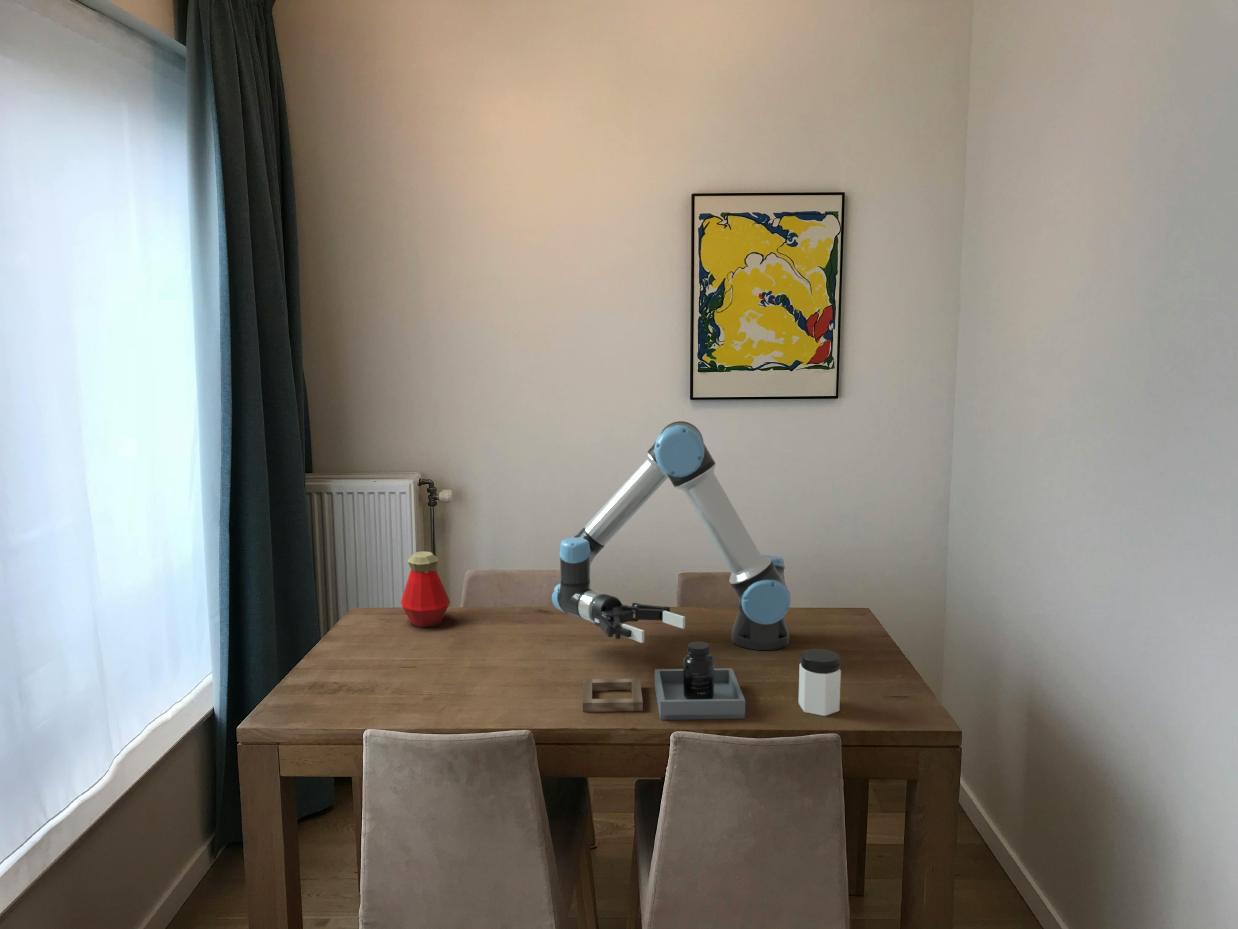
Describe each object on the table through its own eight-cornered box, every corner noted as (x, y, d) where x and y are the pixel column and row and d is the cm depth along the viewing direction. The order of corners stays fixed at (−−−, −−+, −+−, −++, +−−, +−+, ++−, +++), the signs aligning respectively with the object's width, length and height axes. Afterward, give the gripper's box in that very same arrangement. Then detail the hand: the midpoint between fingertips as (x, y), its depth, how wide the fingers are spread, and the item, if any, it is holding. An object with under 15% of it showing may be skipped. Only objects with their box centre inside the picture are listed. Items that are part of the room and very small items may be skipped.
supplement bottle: (680, 691, 195) (681, 640, 193) (710, 690, 196) (711, 639, 194) (685, 704, 188) (686, 651, 186) (716, 702, 189) (717, 650, 187)
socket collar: (639, 686, 200) (639, 678, 200) (642, 711, 187) (642, 702, 187) (583, 687, 200) (583, 679, 199) (582, 711, 187) (582, 703, 187)
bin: (731, 684, 201) (732, 668, 200) (745, 718, 183) (745, 700, 183) (654, 685, 201) (654, 669, 200) (660, 719, 183) (660, 702, 182)
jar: (818, 719, 183) (819, 665, 181) (790, 706, 189) (792, 653, 188) (847, 709, 188) (849, 656, 186) (819, 696, 194) (821, 645, 193)
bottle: (459, 625, 243) (457, 556, 240) (413, 634, 235) (410, 563, 232) (437, 611, 256) (435, 545, 253) (393, 619, 248) (390, 551, 245)
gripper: (637, 612, 222) (699, 632, 206) (562, 635, 205) (624, 659, 189) (637, 584, 220) (700, 602, 205) (562, 605, 203) (624, 626, 188)
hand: (664, 629), depth 197 cm, fingers open, 13 cm apart
